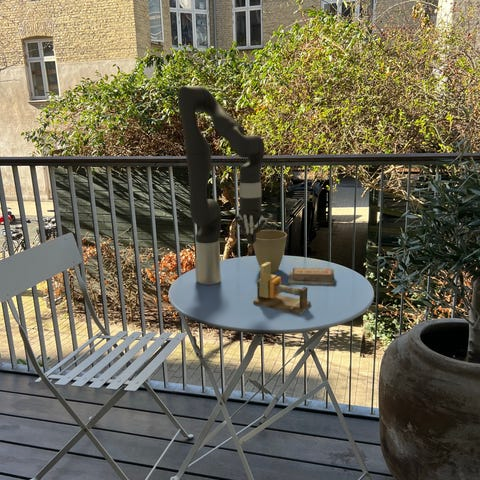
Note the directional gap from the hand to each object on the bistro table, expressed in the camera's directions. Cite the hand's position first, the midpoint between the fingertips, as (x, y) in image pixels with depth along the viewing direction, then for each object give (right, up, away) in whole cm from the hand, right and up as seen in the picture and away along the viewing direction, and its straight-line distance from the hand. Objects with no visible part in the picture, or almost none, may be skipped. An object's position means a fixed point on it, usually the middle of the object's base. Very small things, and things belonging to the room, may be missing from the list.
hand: (251, 243), depth 161 cm
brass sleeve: (+6, -18, +2) cm, 19 cm away
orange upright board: (+8, -18, 0) cm, 20 cm away
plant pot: (+9, -12, +34) cm, 37 cm away
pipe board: (+11, -22, -1) cm, 24 cm away
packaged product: (+25, -16, +22) cm, 36 cm away
